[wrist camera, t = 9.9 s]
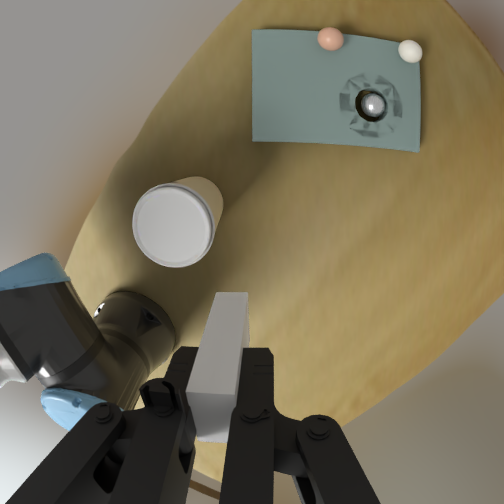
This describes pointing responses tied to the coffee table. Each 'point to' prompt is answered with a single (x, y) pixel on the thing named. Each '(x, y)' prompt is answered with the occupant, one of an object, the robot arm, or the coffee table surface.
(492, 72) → the coffee table surface
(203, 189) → the coffee cup
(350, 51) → the board
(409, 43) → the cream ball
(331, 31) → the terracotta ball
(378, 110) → the steel ball
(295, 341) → the coffee table surface
